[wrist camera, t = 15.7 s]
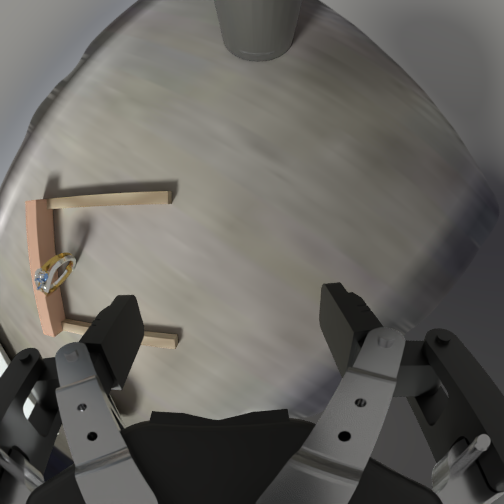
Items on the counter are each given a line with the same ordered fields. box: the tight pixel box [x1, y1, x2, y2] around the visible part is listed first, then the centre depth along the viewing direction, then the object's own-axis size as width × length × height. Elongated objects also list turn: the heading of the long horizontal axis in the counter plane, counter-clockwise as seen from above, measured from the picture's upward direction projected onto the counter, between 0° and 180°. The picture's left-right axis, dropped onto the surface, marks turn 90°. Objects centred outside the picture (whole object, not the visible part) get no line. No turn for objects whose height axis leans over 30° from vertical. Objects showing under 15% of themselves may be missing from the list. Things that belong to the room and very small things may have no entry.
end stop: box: [26, 199, 66, 337], centre depth 33 cm, size 20×2×4 cm, turn 179°
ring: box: [34, 253, 76, 297], centre depth 31 cm, size 7×3×8 cm, turn 134°
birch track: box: [47, 191, 178, 349], centre depth 34 cm, size 20×20×2 cm
